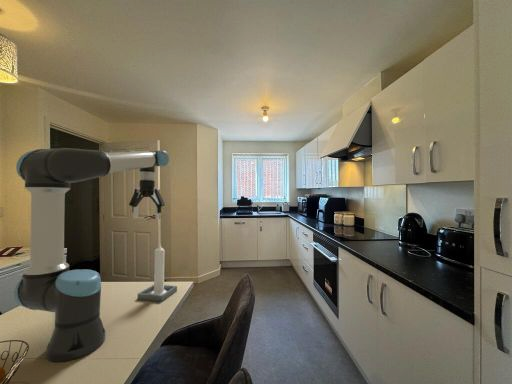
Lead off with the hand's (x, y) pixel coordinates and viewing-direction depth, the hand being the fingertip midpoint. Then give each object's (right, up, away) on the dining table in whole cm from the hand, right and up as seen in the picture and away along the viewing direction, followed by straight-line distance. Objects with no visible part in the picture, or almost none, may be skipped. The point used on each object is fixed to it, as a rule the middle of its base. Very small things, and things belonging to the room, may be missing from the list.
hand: (146, 219), depth 125 cm
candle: (+11, -36, -11) cm, 39 cm away
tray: (+11, -37, -11) cm, 40 cm away
